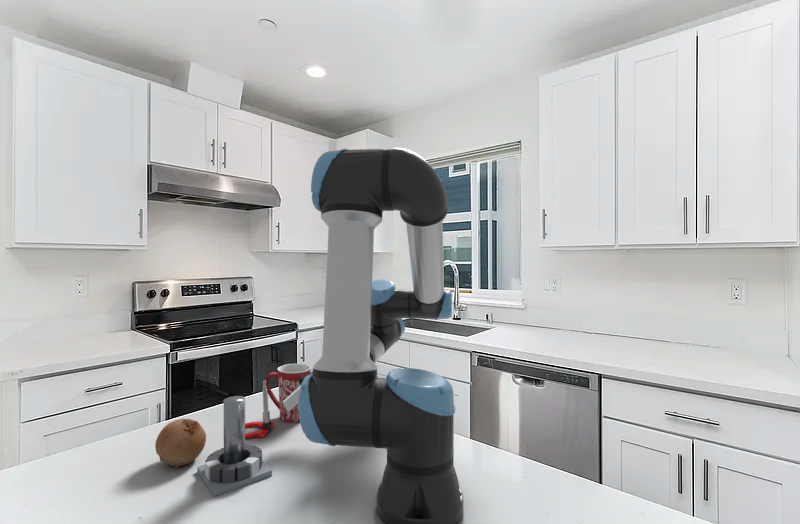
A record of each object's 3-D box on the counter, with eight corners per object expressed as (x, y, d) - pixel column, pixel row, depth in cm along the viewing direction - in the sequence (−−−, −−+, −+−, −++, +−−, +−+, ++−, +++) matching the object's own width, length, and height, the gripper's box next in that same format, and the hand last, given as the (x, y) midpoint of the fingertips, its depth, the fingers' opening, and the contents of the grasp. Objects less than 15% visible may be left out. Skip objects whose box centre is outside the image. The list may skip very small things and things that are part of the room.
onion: (200, 473, 88) (222, 432, 88) (156, 481, 80) (179, 436, 80) (182, 445, 93) (202, 406, 93) (140, 450, 86) (161, 407, 86)
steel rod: (248, 469, 82) (248, 399, 82) (227, 476, 79) (227, 404, 79) (241, 461, 85) (240, 394, 85) (221, 467, 83) (220, 399, 82)
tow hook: (225, 441, 98) (263, 440, 97) (223, 387, 98) (261, 386, 97) (241, 426, 106) (276, 425, 106) (238, 376, 106) (273, 375, 106)
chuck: (272, 475, 82) (272, 458, 82) (213, 496, 75) (213, 477, 74) (251, 454, 90) (251, 438, 90) (197, 471, 83) (197, 454, 83)
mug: (316, 412, 115) (316, 364, 114) (303, 425, 106) (303, 373, 105) (274, 408, 117) (274, 361, 116) (258, 421, 108) (258, 370, 108)
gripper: (406, 370, 98) (352, 435, 83) (334, 362, 114) (277, 415, 98) (396, 344, 96) (339, 405, 81) (325, 339, 111) (264, 390, 96)
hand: (304, 411), depth 89 cm, fingers open, 13 cm apart
